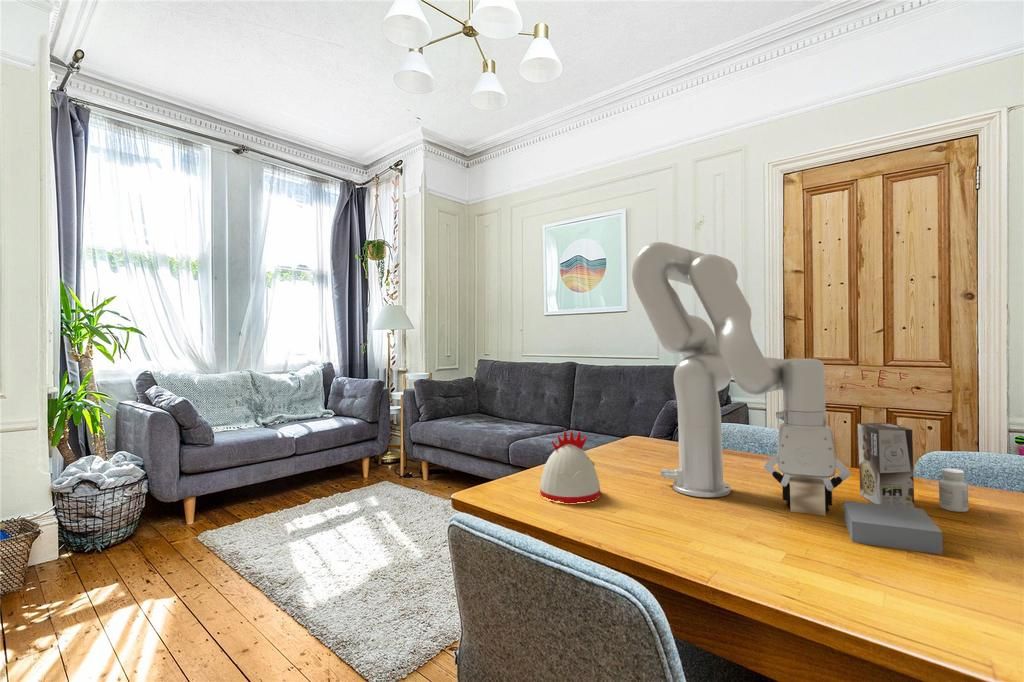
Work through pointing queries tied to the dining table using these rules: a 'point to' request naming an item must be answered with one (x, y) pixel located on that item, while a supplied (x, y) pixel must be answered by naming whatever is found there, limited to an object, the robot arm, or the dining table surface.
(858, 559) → the dining table surface
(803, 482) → the oak cube
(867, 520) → the charcoal block
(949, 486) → the pill bottle
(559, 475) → the white red dome
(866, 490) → the coffee box
